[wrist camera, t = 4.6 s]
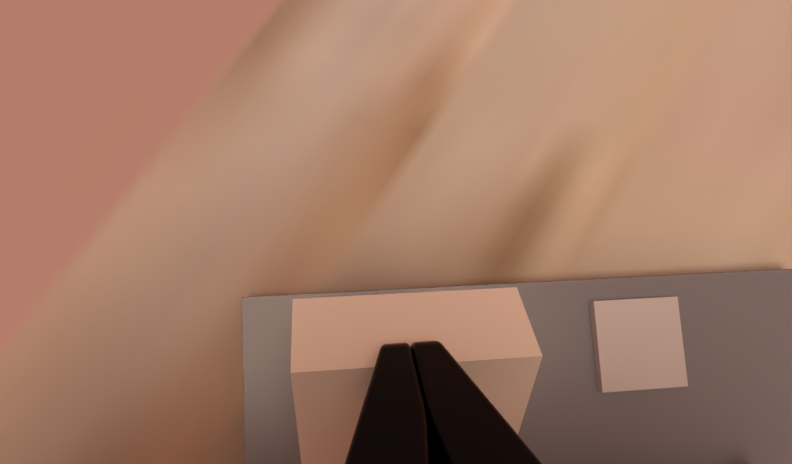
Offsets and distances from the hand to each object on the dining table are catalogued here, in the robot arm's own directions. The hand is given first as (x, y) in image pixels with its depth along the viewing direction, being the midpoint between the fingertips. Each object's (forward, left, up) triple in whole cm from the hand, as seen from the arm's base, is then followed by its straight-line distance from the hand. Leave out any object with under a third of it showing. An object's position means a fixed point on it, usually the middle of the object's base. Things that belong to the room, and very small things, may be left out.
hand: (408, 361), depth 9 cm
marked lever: (-2, +4, -6) cm, 8 cm away
